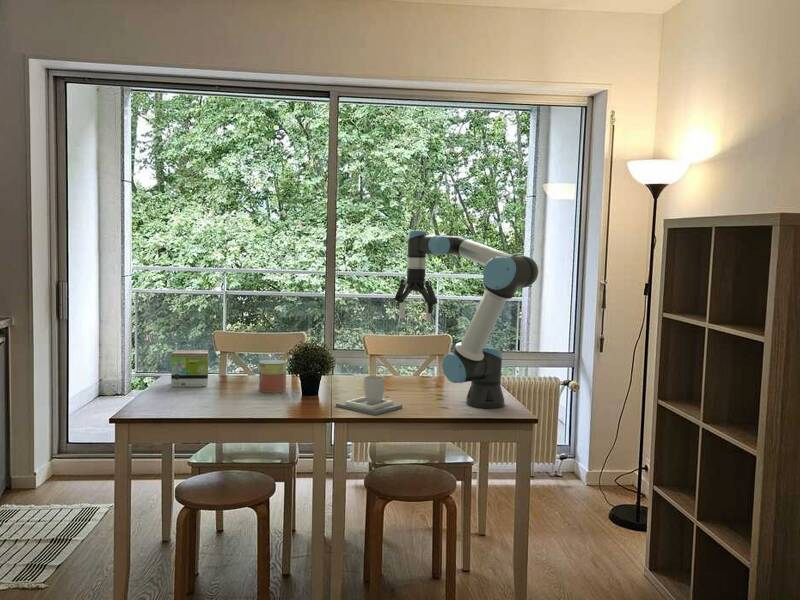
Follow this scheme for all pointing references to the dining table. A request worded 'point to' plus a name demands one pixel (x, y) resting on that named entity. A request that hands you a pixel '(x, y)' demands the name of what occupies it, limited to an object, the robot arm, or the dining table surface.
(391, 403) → the grey rectangular frame
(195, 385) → the tea box
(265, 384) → the canned food
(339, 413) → the dining table surface
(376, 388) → the cup
